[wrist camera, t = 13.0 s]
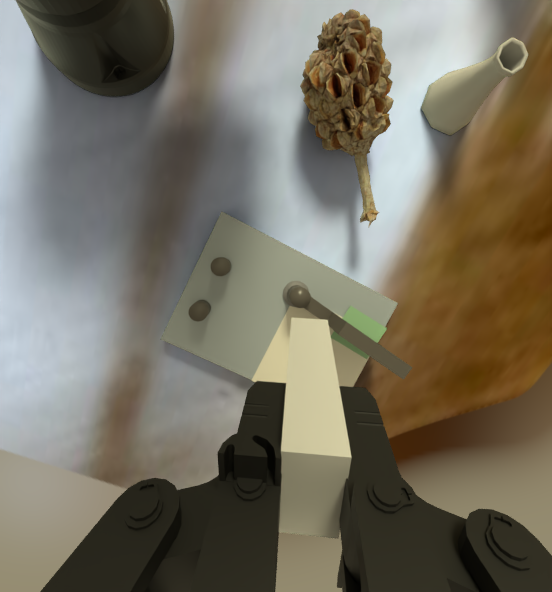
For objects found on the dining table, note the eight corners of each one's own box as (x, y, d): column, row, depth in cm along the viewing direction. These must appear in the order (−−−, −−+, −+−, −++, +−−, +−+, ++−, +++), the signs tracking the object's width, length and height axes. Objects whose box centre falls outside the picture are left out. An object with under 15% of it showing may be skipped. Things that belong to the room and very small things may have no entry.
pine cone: (282, 67, 37) (292, 0, 28) (354, 44, 38) (390, -31, 28) (333, 238, 41) (358, 233, 31) (399, 216, 41) (445, 203, 31)
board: (165, 335, 41) (152, 346, 36) (223, 213, 39) (218, 207, 34) (332, 410, 44) (343, 430, 39) (392, 301, 42) (410, 307, 38)
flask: (449, 146, 40) (513, 111, 30) (410, 109, 39) (463, 60, 29) (484, 102, 40) (561, 51, 30) (446, 63, 39) (512, -3, 29)
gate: (283, 296, 39) (291, 307, 31) (294, 281, 38) (305, 288, 30) (372, 357, 41) (401, 382, 33) (382, 343, 40) (414, 364, 32)
